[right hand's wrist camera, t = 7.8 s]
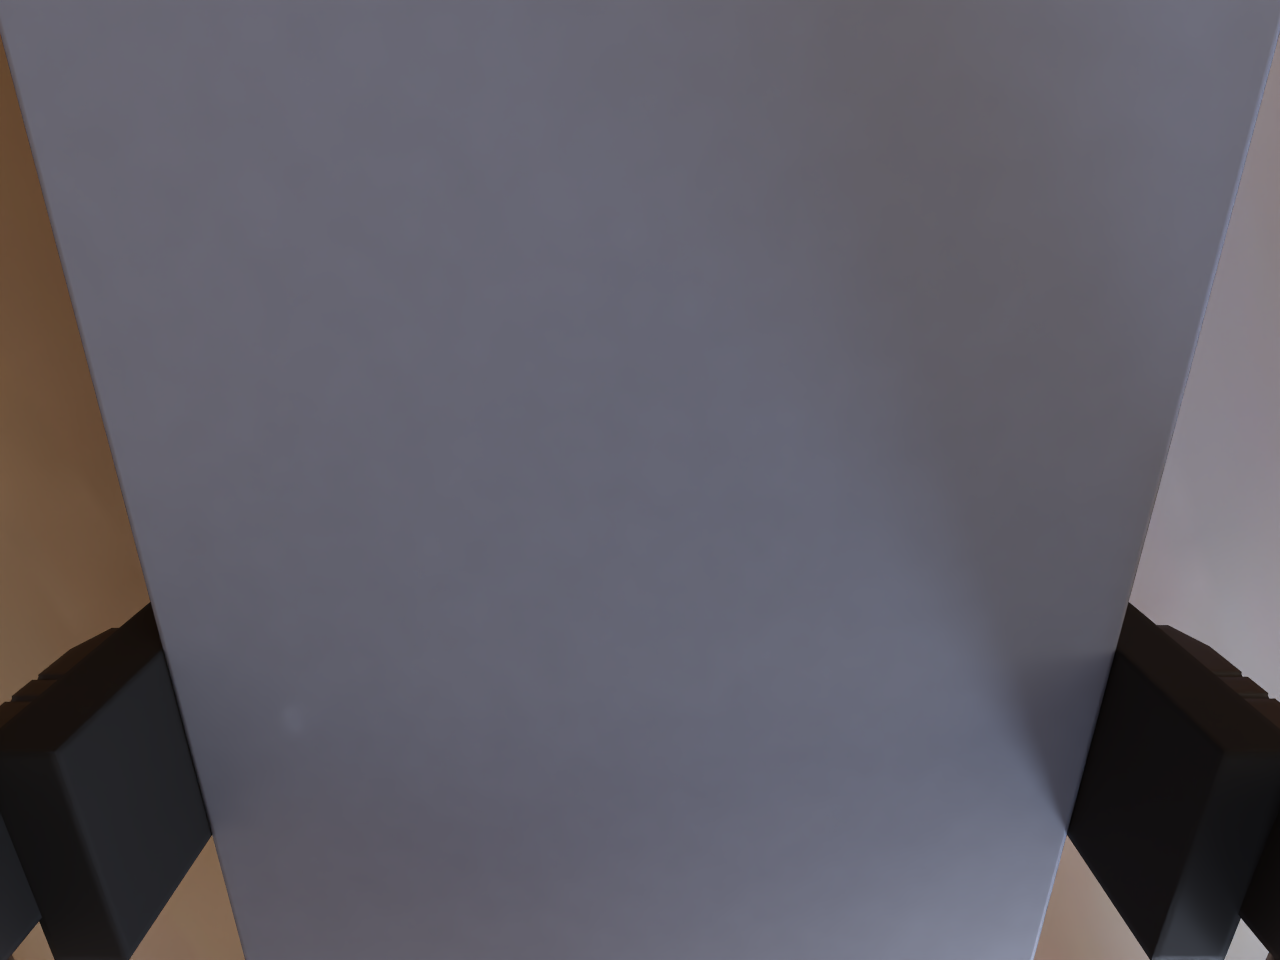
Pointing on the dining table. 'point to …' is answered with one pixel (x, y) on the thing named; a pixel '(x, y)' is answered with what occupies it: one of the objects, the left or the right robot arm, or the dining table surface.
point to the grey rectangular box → (639, 441)
